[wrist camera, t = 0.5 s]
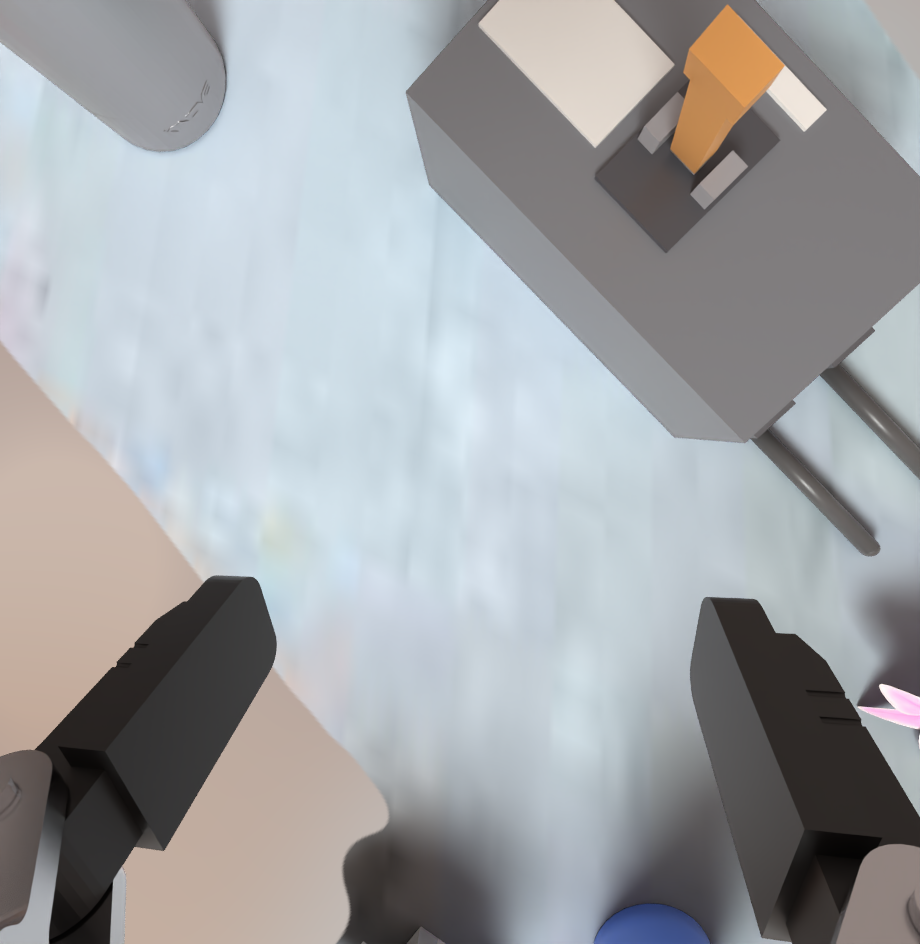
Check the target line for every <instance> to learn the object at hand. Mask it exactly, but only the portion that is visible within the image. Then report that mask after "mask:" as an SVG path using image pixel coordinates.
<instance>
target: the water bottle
mask: <svg viewBox="0 0 920 944" xmlns="http://www.w3.org/2000/svg"><path fill="white" fill-rule="evenodd" d="M594 944H710V942H709V939H708V937H707V935H706V933H705V932H704V930H703V929H702V927H701V926H700V925H699V924H698V923H697V922H696V921H695V920H694V919H693V918H692V917H690V916H689V915H687V914H686V913H684V912H683V911H680V910H678V909H676V908H673V907H670V906H666V905H662V904H649V903H648V904H640V905H635V906H631V907H628V908H625V909H623V910H621V911H620V912H618V913H616V914H614V915H613V916H612V917H611V918H610V919H608V920H607V921H606V922H605V924H604V925H603V926H602V927H601V929H600V930H599V932H598V934H597V936H596V938H595V941H594Z"/></svg>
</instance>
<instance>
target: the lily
mask: <svg viewBox="0 0 920 944" xmlns="http://www.w3.org/2000/svg"><path fill="white" fill-rule="evenodd" d="M879 688H880V690H881V692H882V694H883V695H884V696H885V698H886V699H887V700H888V701H889V702H890V703H891V705H892V706H893V707H894V708H896V709H884V708H871V707H861V706H858V708H860V709H861V710H863V711H865V712H867V713H869V714H872V715H874V716H877V717H880V718H882V719H885V720H888V721H891V722H894V723H897V724H900V725H903V726H907V727H911V728H915V729H920V697H917V696H915V695H912V694H910V693H907V692H905V691H902V690H900V689H897V688H894V687H892V686H889V685H884V684H880V685H879ZM919 747H920V735H919Z"/></svg>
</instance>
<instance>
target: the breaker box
mask: <svg viewBox="0 0 920 944" xmlns="http://www.w3.org/2000/svg"><path fill="white" fill-rule="evenodd" d="M727 4H728V5H729V6H730V7H731V8H732V9H733V11H734V12H735V13H736V14H737V15H738V16H739V17H740V18H741V19H742V20H743V21H744V22H745V23H746V24H747V25H748V27H749V28H750V29H751V30H752V31H753V32H754V33H755V34H756V35H757V36H758V37H759V38H760V39H761V40H762V41H763V43H764V44H765V45H766V46H767V47H768V48H769V49H770V50H771V51H772V52H773V53H774V54H775V55H776V56H777V57H778V58H779V60H780V61H781V62H782V63H783V64H784V65H785V66H784V68H783V69H782V70H781V72H780V73H779V75H778V76H777V78H776V79H775V80H774V82H773V83H772V85H771V86H770V87H769V89H768V90H767V91H766V92H765V93H764V94H763V95H762V96H761V97H760V98H759V99H758V100H757V101H756V102H755V103H754V104H753V105H752V106H751V107H750V109H749V110H748V111H747V112H746V113H745V114H744V115H743V116H742V117H741V118H740V119H739V120H738V121H737V122H736V123H735V124H734V125H733V126H732V128H731V129H730V131H729V133H728V134H727V136H726V137H725V139H724V140H723V142H722V143H721V145H720V146H719V148H718V150H717V151H716V153H715V154H714V155H713V156H712V157H711V158H710V159H709V160H708V162H707V163H706V164H705V165H704V166H703V167H702V168H701V169H700V170H699V171H698V172H697V173H696V174H695V175H693V174H692V173H691V172H690V171H689V170H688V169H687V168H686V166H685V165H684V164H683V163H682V162H681V161H680V160H679V159H678V158H677V157H676V156H675V155H674V154H673V153H672V152H671V151H670V148H671V144H672V141H673V137H674V134H675V131H676V127H677V124H678V120H679V117H680V113H681V110H682V106H683V103H684V99H685V96H686V92H687V89H688V85H689V82H690V79H689V78H688V77H687V76H686V75H685V74H684V73H683V72H684V68H685V64H686V60H687V55H688V51H689V48H690V47H691V46H692V45H693V44H694V43H695V41H696V40H697V39H698V38H699V37H700V36H701V34H702V33H703V32H704V31H705V30H706V29H707V27H708V26H709V25H710V24H711V23H712V22H713V20H714V19H715V18H716V17H717V16H718V15H719V13H720V12H721V11H722V10H723V9H724V8H725V6H726V5H727ZM406 96H407V100H408V103H409V107H410V111H411V115H412V119H413V123H414V127H415V131H416V135H417V139H418V143H419V147H420V151H421V154H422V158H423V162H424V166H425V170H426V174H427V178H428V182H429V185H430V186H431V187H432V188H433V189H434V190H435V191H436V192H437V193H438V195H439V196H440V197H441V198H442V199H443V200H444V201H445V202H446V203H447V204H448V205H449V206H450V207H451V208H452V209H453V210H454V211H455V212H456V213H457V214H458V215H459V216H460V217H461V218H462V219H463V220H464V221H465V222H466V223H467V224H468V225H469V226H470V227H471V228H472V230H473V231H474V232H475V233H476V234H477V235H478V236H479V237H480V238H481V239H482V240H483V241H484V242H485V243H486V244H487V245H488V246H489V247H490V248H491V249H492V250H493V251H494V252H495V253H496V254H497V255H498V256H499V257H500V258H501V259H502V260H503V261H504V262H505V264H506V265H507V266H508V267H509V268H510V269H511V270H512V271H513V272H514V273H515V274H516V275H517V276H518V277H519V278H520V279H521V280H522V281H523V282H524V283H525V284H526V285H527V286H528V287H529V288H530V289H531V290H532V291H533V292H534V293H535V294H536V295H537V296H538V297H539V299H540V300H541V301H542V302H543V303H544V304H545V305H546V306H547V307H548V308H549V309H550V310H551V311H552V312H553V313H554V314H555V315H556V316H557V317H558V318H559V319H560V320H561V321H562V322H563V323H564V324H565V325H566V326H567V327H568V328H569V329H570V330H571V331H572V332H573V334H574V335H575V336H576V337H577V338H578V339H579V340H580V341H581V342H582V343H583V344H584V345H585V346H586V347H587V348H588V349H589V350H590V351H591V352H592V353H593V354H594V355H595V356H596V357H597V358H598V359H599V360H600V361H601V362H602V363H603V364H604V365H605V366H606V367H607V369H608V370H609V371H610V372H611V373H612V374H613V375H614V376H615V377H616V378H617V379H618V380H619V381H620V382H621V383H622V384H623V385H624V386H625V387H626V388H627V389H628V390H629V391H630V392H631V393H632V394H633V395H634V396H635V397H636V398H637V399H638V400H639V401H640V402H641V404H642V405H643V406H644V407H645V408H646V409H647V410H648V411H649V412H650V413H651V414H652V415H653V416H654V417H655V418H656V419H657V420H658V421H659V422H660V423H661V424H662V425H663V426H664V427H665V428H666V429H667V430H668V431H669V432H670V433H671V434H672V435H673V436H674V437H675V438H688V439H700V440H712V441H725V442H737V443H746V442H747V441H748V440H749V439H751V440H752V441H753V442H754V443H755V444H756V445H757V446H758V447H759V448H760V449H761V450H762V451H763V452H764V453H765V454H766V455H767V456H768V457H769V458H770V459H771V460H772V461H773V463H774V464H775V465H776V466H777V467H778V468H779V469H780V470H781V471H782V472H783V473H784V474H785V475H786V476H787V477H788V478H789V479H790V480H791V481H792V482H793V483H794V484H795V485H796V486H797V487H798V488H799V489H800V490H801V492H802V493H803V494H804V495H805V496H806V497H807V498H808V499H809V500H810V501H811V502H812V503H813V504H814V505H815V506H816V507H817V508H818V509H819V510H820V511H821V512H822V513H823V514H824V515H825V516H826V517H827V518H828V519H829V521H830V522H831V523H832V524H833V525H834V526H835V527H836V528H837V529H838V530H839V531H840V532H841V533H842V534H843V535H844V536H845V537H846V538H847V539H848V540H849V541H850V542H851V543H852V544H853V545H854V546H855V547H856V548H857V550H858V551H859V552H860V553H862V554H863V555H865V556H875V555H877V554H878V553H879V552H880V545H879V543H878V542H877V541H876V540H875V539H874V538H873V537H872V536H871V535H870V534H869V533H868V532H867V531H866V530H865V529H864V528H863V527H862V526H861V525H860V523H859V522H858V521H857V520H856V519H855V518H854V517H853V516H852V515H851V514H850V513H849V512H848V511H847V510H846V509H845V508H844V507H843V506H842V505H841V504H840V503H839V502H838V501H837V500H836V499H835V498H834V496H833V495H832V494H831V493H830V492H829V491H828V490H827V489H826V488H825V487H824V486H823V485H822V484H821V483H820V482H819V481H818V480H817V479H816V478H815V477H814V476H813V475H812V474H811V473H810V472H809V471H808V470H807V468H806V467H805V466H804V465H803V464H802V463H801V462H800V461H799V460H798V459H797V458H796V457H795V456H794V455H793V454H792V453H791V452H790V451H789V450H788V449H787V448H786V447H785V446H784V445H783V444H782V443H781V442H780V440H779V439H778V438H777V437H776V436H775V435H774V434H773V433H772V432H771V431H770V430H769V429H768V428H769V427H771V426H772V425H773V424H774V423H775V422H776V421H777V420H778V419H779V418H780V417H781V416H783V415H784V414H785V413H786V412H787V411H788V410H789V409H790V408H791V407H792V406H793V405H795V404H796V403H795V402H794V401H793V399H794V398H795V397H796V396H797V395H798V394H799V393H800V392H801V391H802V390H804V389H805V388H806V387H807V386H808V385H809V384H810V383H811V382H812V381H813V380H814V379H816V378H817V377H818V376H819V375H820V376H821V377H822V378H823V379H824V380H825V381H826V382H827V383H828V384H829V385H830V386H831V387H832V388H833V390H834V391H835V392H836V393H837V394H838V395H839V396H840V397H841V398H842V399H843V400H844V401H845V402H846V403H847V404H848V405H849V406H850V407H851V408H852V409H853V410H854V411H855V413H856V414H857V415H858V416H859V417H860V418H861V419H862V420H863V421H864V422H865V423H866V424H867V425H868V426H869V427H870V428H871V429H872V430H873V431H874V432H875V433H876V434H877V436H878V437H879V438H880V439H881V440H882V441H883V442H884V443H885V444H886V445H887V446H888V447H889V448H890V449H891V450H892V451H893V452H894V453H895V454H896V455H897V456H898V457H899V459H900V460H901V461H902V462H903V463H904V464H905V465H906V466H907V467H908V468H909V469H910V470H911V471H912V472H913V473H914V474H915V475H916V476H917V477H918V478H919V479H920V448H919V447H918V446H917V445H916V444H915V443H914V442H913V441H912V440H911V439H910V438H909V437H908V436H907V435H906V434H905V433H904V432H903V430H902V429H901V428H900V427H899V426H898V425H897V424H896V423H895V422H894V421H893V420H892V419H891V418H890V417H889V416H888V415H887V414H886V413H885V412H884V411H883V410H882V408H881V407H880V406H879V405H878V404H877V403H876V402H875V401H874V400H873V399H872V398H871V397H870V396H869V395H868V394H867V393H866V392H865V391H864V390H863V389H862V388H861V386H860V385H859V384H858V383H857V382H856V381H855V380H854V379H853V378H852V377H851V376H850V375H849V374H848V373H847V372H846V371H845V370H844V369H843V368H842V367H841V366H840V364H839V363H840V362H842V361H843V360H844V359H845V358H846V357H847V356H848V355H849V354H850V353H851V352H853V351H854V350H855V349H856V348H857V347H858V346H859V345H860V344H861V343H862V342H863V341H865V340H866V339H867V338H868V337H869V336H870V335H871V334H872V333H873V332H874V331H875V330H874V329H873V328H872V326H873V325H874V324H876V323H877V322H878V321H879V320H880V319H881V318H882V317H883V316H884V315H885V314H886V313H888V312H889V311H890V310H891V309H892V308H893V307H894V306H895V305H896V304H897V303H898V302H900V301H901V300H902V299H903V298H904V297H905V296H906V295H907V294H908V293H909V292H910V291H912V290H913V289H914V288H915V287H916V286H917V285H918V284H919V283H920V176H919V175H918V174H917V173H916V172H915V171H914V170H913V169H912V168H911V167H910V166H909V164H908V163H907V162H906V161H905V160H904V159H903V158H902V157H901V156H900V155H899V154H898V153H897V152H896V151H895V149H894V148H893V147H892V146H891V145H890V144H889V143H888V142H887V141H886V140H885V139H884V138H883V137H882V136H881V135H880V133H879V132H878V131H877V130H876V129H875V128H874V127H873V126H872V125H871V124H870V123H869V122H868V121H867V120H866V118H865V117H864V116H863V115H862V114H861V113H860V112H859V111H858V110H857V109H856V108H855V107H854V106H853V105H852V104H851V102H850V101H849V100H848V99H847V98H846V97H845V96H844V95H843V94H842V93H841V92H840V91H839V90H838V89H837V87H836V86H835V85H834V84H833V83H832V82H831V81H830V80H829V79H828V78H827V77H826V76H825V75H824V74H823V73H822V71H821V70H820V69H819V68H818V67H817V66H816V65H815V64H814V63H813V62H812V61H811V60H810V59H809V58H808V56H807V55H806V54H805V53H804V52H803V51H802V50H801V49H800V48H799V47H798V46H797V45H796V44H795V43H794V42H793V40H792V39H791V38H790V37H789V36H788V35H787V34H786V33H785V32H784V31H783V30H782V29H781V28H780V27H779V25H778V24H777V23H776V22H775V21H774V20H773V19H772V18H771V17H770V16H769V15H768V14H767V13H766V12H765V11H764V9H763V8H762V7H761V6H760V5H759V4H758V3H757V2H756V1H755V0H488V1H487V2H486V3H485V4H484V5H483V6H482V7H481V9H480V10H479V11H478V12H477V13H476V14H475V15H474V16H473V17H472V19H471V20H470V21H469V22H468V23H467V24H466V25H465V26H464V27H463V29H462V30H461V31H460V32H459V33H458V34H457V35H456V36H455V37H454V39H453V40H452V41H451V42H450V43H449V44H448V45H447V46H446V47H445V49H444V50H443V51H442V52H441V53H440V54H439V55H438V56H437V57H436V59H435V60H434V61H433V62H432V63H431V64H430V65H429V66H428V67H427V69H426V70H425V71H424V72H423V73H422V74H421V75H420V76H419V77H418V79H417V80H416V81H415V82H414V83H413V84H412V85H411V86H410V87H409V89H408V90H407V91H406Z"/></svg>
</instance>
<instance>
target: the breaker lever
mask: <svg viewBox="0 0 920 944" xmlns="http://www.w3.org/2000/svg"><path fill="white" fill-rule="evenodd" d="M784 66H785V65H784V64H783V63H782V62H781V61H780V60H779V58H778V57H777V56H776V55H775V54H774V53H773V52H772V51H771V50H770V49H769V48H768V47H767V46H766V45H765V44H764V43H763V41H762V40H761V39H760V38H759V37H758V36H757V35H756V34H755V33H754V32H753V31H752V30H751V29H750V28H749V27H748V25H747V24H746V23H745V22H744V21H743V20H742V19H741V18H740V17H739V16H738V15H737V14H736V13H735V12H734V11H733V9H732V8H731V7H730V6H729V5H728V4H727V5H726V6H725V8H724V9H723V10H722V11H721V12H720V13H719V15H718V16H717V17H716V18H715V19H714V20H713V22H712V23H711V24H710V25H709V26H708V27H707V29H706V30H705V31H704V32H703V33H702V34H701V36H700V37H699V38H698V39H697V40H696V41H695V43H694V44H693V45H692V46H691V47H690V48H689V51H688V55H687V60H686V64H685V68H684V72H683V73H684V74H685V75H686V76H687V77H688V78H689V79H690V82H689V85H688V89H687V92H686V96H685V99H684V103H683V106H682V110H681V113H680V117H679V120H678V124H677V127H676V131H675V134H674V137H673V141H672V144H671V148H670V151H671V152H672V153H673V154H674V155H675V156H676V157H677V158H678V159H679V160H680V161H681V162H682V163H683V164H684V165H685V166H686V168H687V169H688V170H689V171H690V172H691V173H692V174H693V175H695V174H696V173H697V172H698V171H699V170H700V169H701V168H702V167H703V166H704V165H705V164H706V163H707V162H708V160H709V159H710V158H711V157H712V156H713V155H714V154H715V153H716V151H717V150H718V148H719V146H720V145H721V143H722V142H723V140H724V139H725V137H726V136H727V134H728V133H729V131H730V129H731V128H732V126H733V125H734V124H735V123H736V122H737V121H738V120H739V119H740V118H741V117H742V116H743V115H744V114H745V113H746V112H747V111H748V110H749V109H750V107H751V106H752V105H753V104H754V103H755V102H756V101H757V100H758V99H759V98H760V97H761V96H762V95H763V94H764V93H765V92H766V91H767V90H768V89H769V87H770V86H771V85H772V83H773V82H774V80H775V79H776V78H777V76H778V75H779V73H780V72H781V70H782V69H783V68H784Z"/></svg>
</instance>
